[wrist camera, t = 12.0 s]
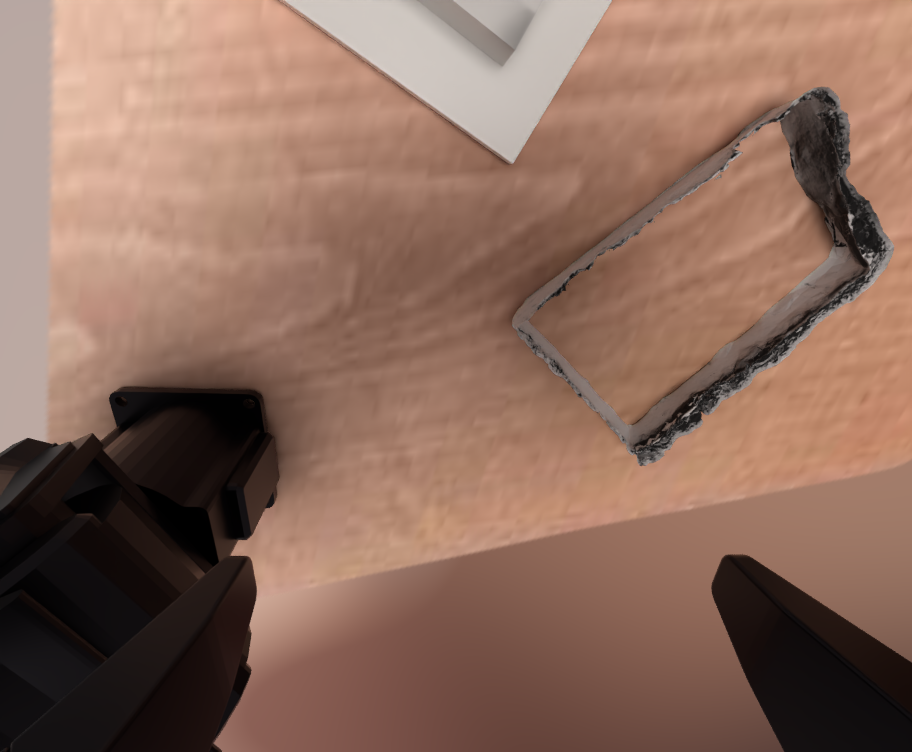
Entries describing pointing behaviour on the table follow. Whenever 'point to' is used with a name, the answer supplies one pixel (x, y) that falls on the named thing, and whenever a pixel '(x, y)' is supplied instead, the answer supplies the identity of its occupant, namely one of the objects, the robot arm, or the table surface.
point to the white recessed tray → (467, 55)
